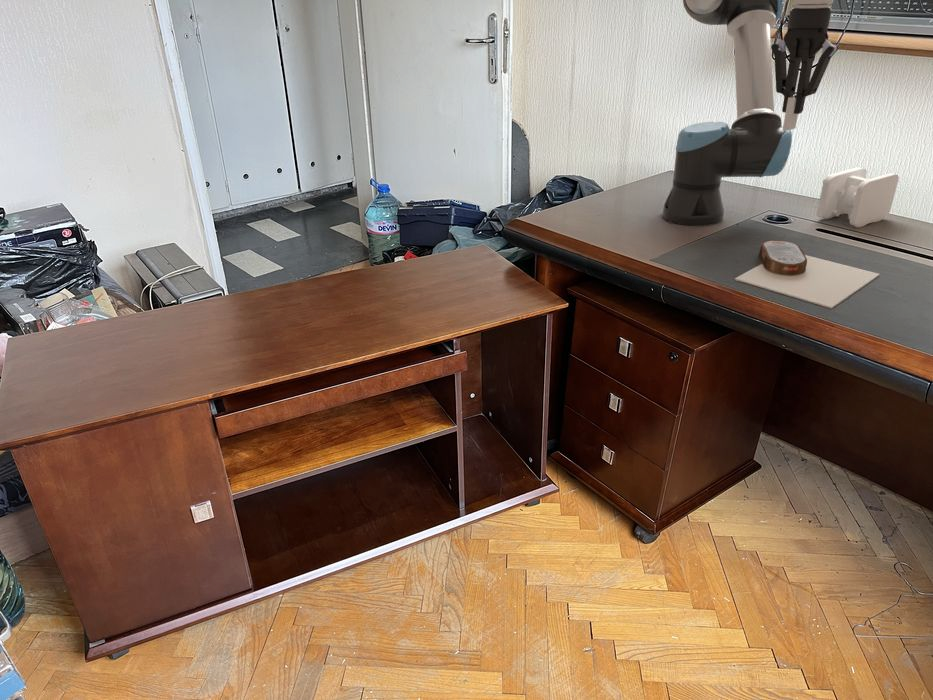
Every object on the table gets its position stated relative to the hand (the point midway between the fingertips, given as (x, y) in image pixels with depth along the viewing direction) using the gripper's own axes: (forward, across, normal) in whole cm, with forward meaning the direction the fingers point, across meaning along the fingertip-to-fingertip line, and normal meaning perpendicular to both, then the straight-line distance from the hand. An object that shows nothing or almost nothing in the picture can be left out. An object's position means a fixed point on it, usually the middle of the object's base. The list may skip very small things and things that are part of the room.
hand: (789, 128), depth 147 cm
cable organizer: (+27, +6, +30) cm, 41 cm away
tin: (+25, +4, -11) cm, 27 cm away
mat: (+26, +15, -12) cm, 33 cm away
